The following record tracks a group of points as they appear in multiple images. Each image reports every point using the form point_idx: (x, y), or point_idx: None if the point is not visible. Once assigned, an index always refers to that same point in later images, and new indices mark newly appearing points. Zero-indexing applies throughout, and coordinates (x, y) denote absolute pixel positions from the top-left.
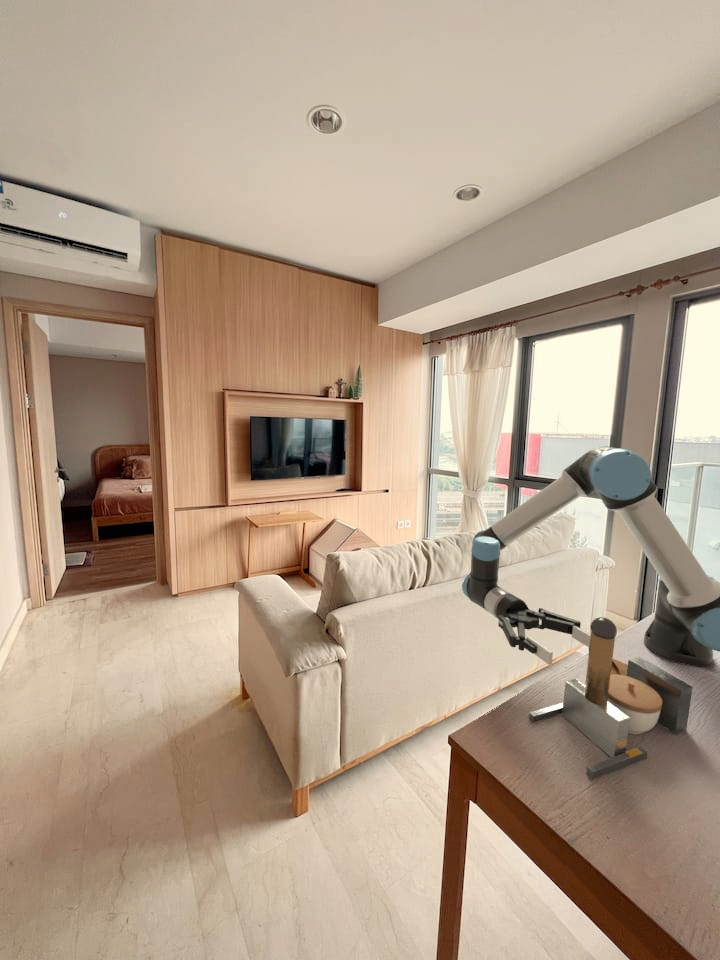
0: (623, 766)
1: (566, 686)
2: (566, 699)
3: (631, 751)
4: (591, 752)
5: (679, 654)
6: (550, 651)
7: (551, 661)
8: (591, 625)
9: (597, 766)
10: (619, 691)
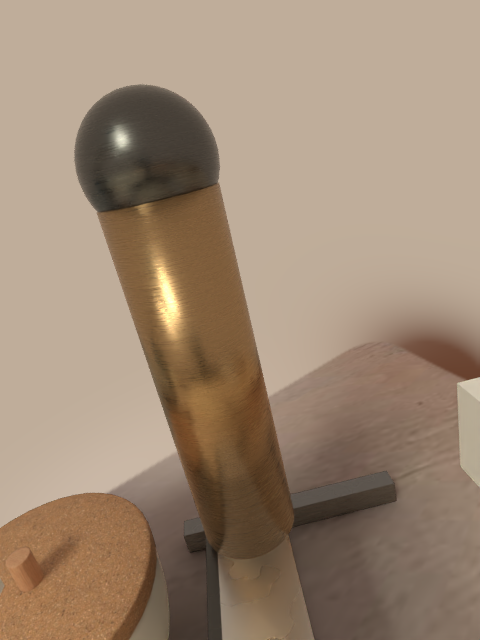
0: None
1: None
2: None
3: None
4: (335, 564)
5: None
6: (475, 388)
7: (463, 446)
8: (200, 134)
9: (363, 483)
10: (92, 572)
